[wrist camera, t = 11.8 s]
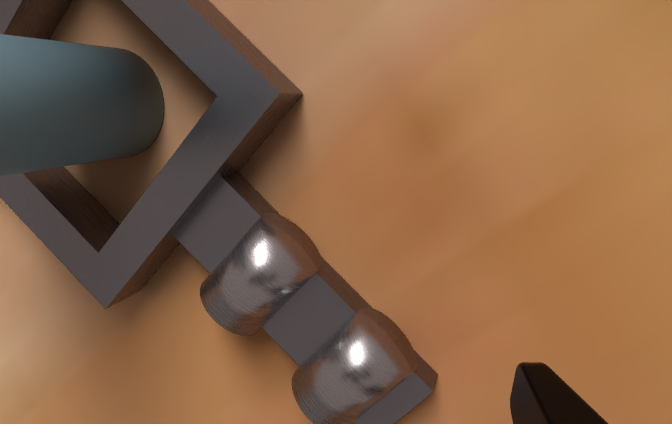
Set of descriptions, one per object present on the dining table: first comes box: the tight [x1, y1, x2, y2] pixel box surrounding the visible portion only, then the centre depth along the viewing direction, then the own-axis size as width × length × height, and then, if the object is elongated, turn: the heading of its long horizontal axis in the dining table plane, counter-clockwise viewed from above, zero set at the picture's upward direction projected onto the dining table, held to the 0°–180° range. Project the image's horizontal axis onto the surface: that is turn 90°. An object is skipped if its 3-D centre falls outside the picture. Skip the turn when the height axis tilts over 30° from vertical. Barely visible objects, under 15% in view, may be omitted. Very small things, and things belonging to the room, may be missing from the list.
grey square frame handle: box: [0, 0, 438, 424], centre depth 20 cm, size 30×10×3 cm, turn 47°
